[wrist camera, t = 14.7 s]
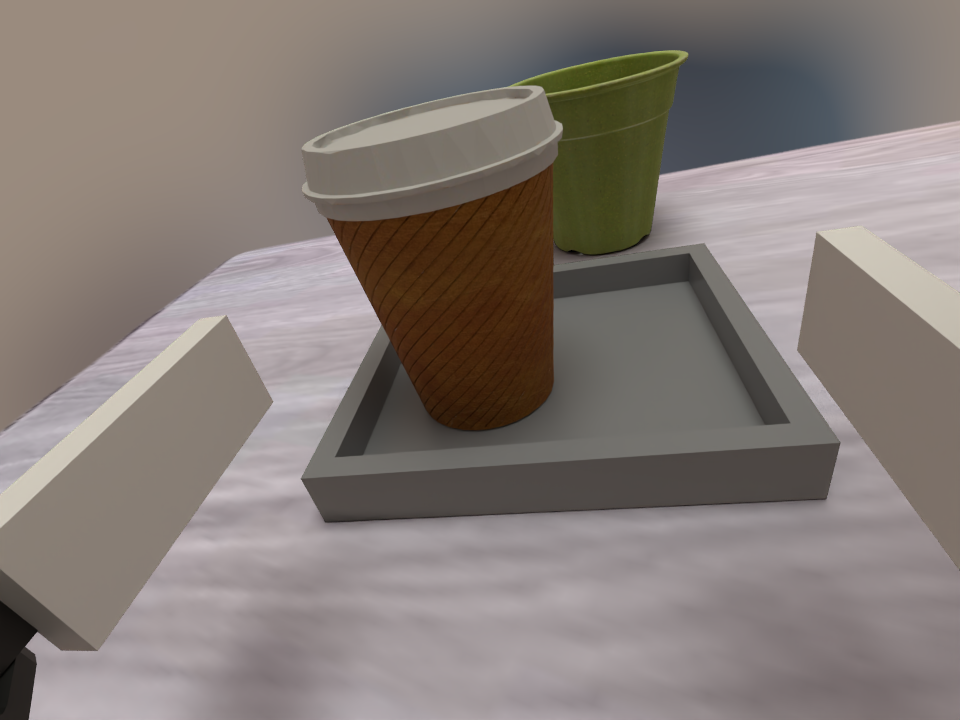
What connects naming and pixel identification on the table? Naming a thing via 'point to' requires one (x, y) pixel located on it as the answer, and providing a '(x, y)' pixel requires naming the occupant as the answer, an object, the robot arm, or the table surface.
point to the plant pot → (608, 147)
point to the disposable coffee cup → (453, 243)
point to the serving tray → (594, 411)
